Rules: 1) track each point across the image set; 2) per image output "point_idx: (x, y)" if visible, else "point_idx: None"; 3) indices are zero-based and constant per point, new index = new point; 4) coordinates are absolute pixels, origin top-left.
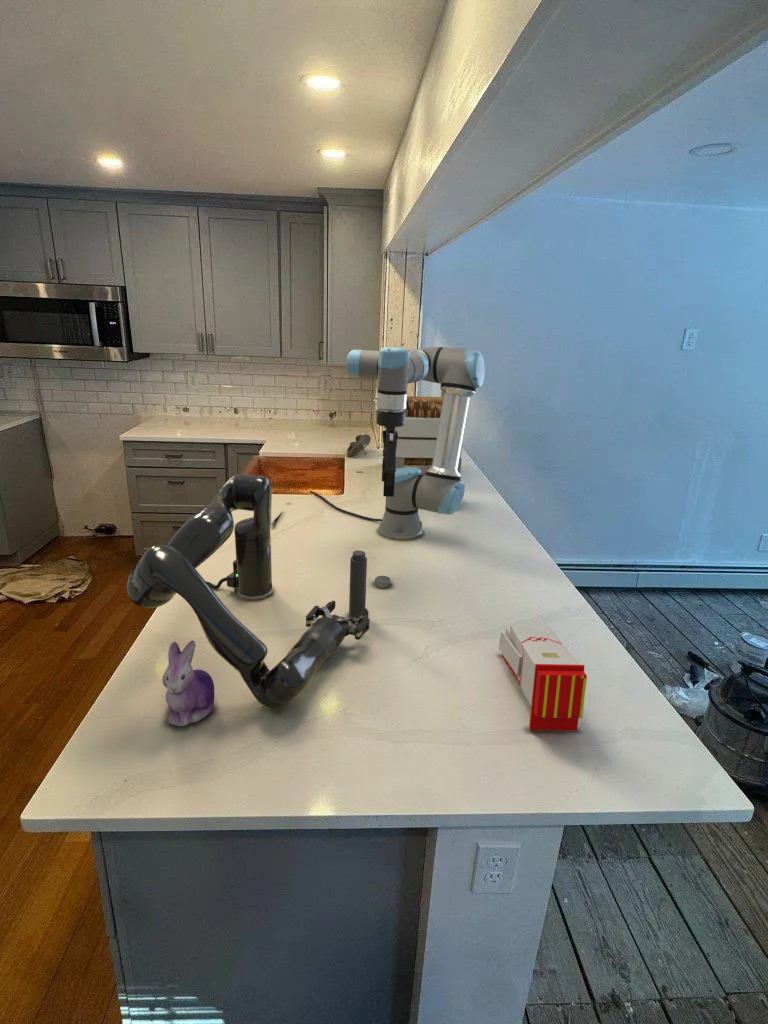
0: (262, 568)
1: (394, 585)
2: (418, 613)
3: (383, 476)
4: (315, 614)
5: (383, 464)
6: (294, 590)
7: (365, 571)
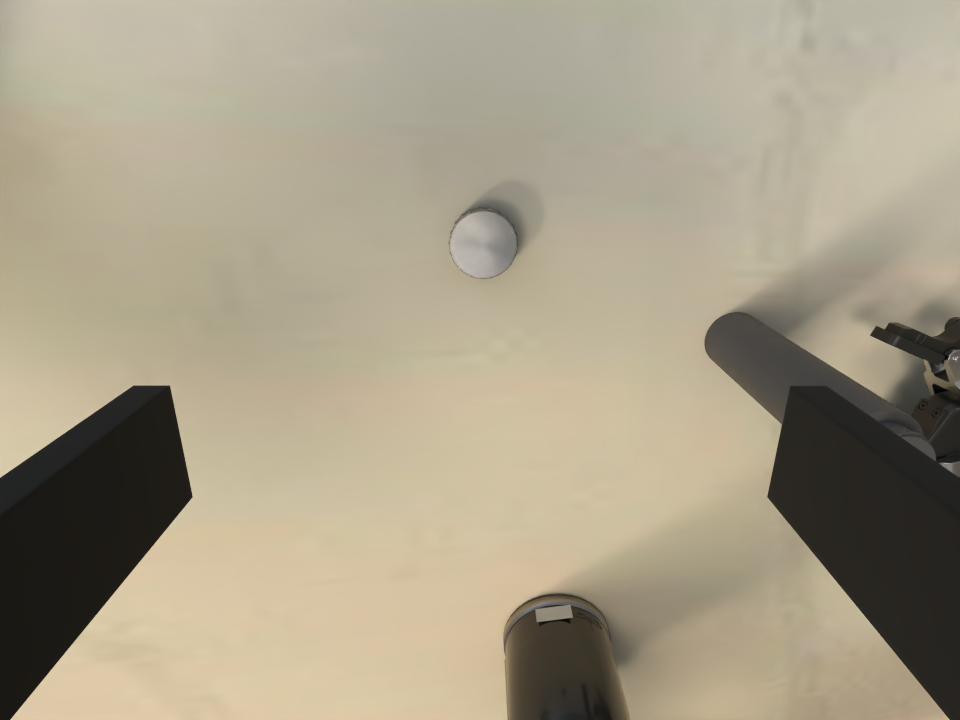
0: (621, 702)
1: (488, 189)
2: (734, 98)
3: (156, 519)
4: None
5: (31, 676)
6: (539, 537)
7: (869, 390)
